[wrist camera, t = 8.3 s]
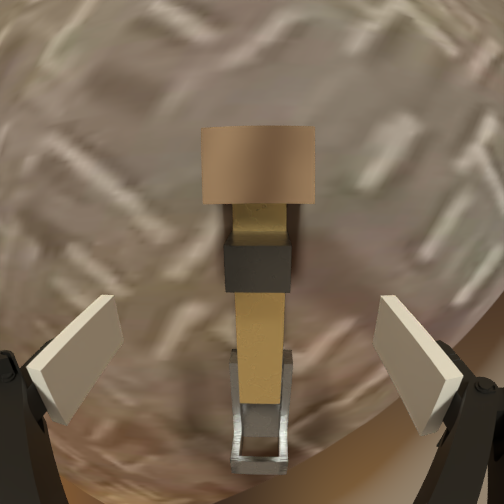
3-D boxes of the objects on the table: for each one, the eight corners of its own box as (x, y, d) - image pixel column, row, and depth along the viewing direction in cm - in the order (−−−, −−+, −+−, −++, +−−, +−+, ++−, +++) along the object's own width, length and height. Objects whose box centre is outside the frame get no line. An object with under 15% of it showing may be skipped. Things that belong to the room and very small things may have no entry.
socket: (221, 192, 27) (202, 204, 20) (220, 138, 26) (201, 128, 18) (301, 192, 27) (314, 203, 19) (301, 137, 26) (314, 126, 18)
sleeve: (237, 430, 36) (231, 473, 29) (232, 349, 32) (223, 394, 25) (285, 431, 36) (286, 474, 28) (291, 349, 32) (295, 395, 25)
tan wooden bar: (242, 372, 31) (234, 433, 23) (237, 156, 25) (221, 151, 17) (279, 372, 31) (281, 434, 23) (284, 155, 25) (292, 151, 16)
